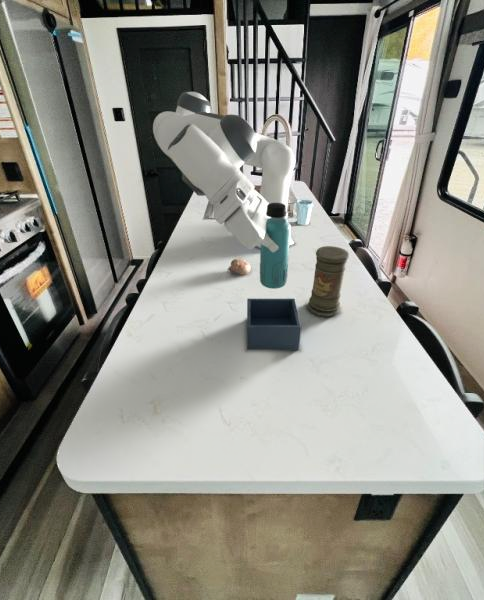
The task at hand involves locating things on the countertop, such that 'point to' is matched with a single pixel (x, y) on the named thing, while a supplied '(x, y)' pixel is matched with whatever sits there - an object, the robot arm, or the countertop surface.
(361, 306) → the countertop surface
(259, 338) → the tote
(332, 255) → the container
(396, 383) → the countertop surface
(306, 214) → the cup
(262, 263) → the beverage bottle
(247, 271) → the beige lumpy piece
